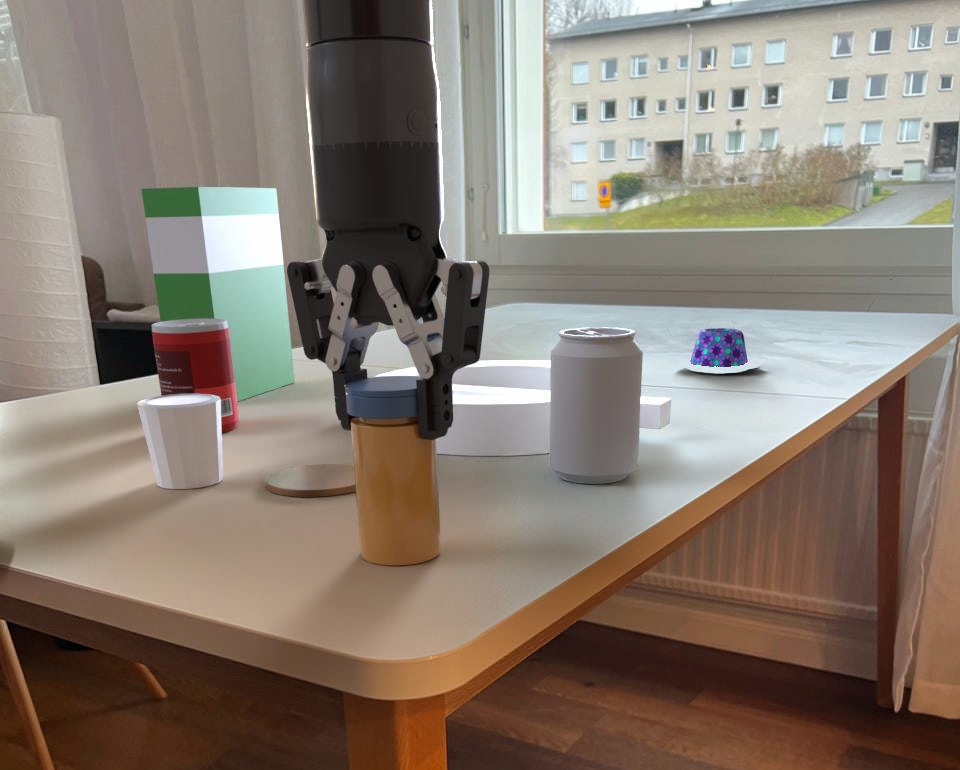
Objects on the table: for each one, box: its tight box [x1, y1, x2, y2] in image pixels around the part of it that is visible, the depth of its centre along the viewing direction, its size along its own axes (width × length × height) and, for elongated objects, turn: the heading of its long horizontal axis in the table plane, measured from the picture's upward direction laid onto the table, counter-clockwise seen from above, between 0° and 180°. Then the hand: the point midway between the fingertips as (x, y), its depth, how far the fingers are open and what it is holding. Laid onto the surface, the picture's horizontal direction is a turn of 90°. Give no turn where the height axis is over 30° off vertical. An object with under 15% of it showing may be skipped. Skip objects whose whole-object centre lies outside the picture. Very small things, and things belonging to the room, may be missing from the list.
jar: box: [350, 416, 442, 567], centre depth 65 cm, size 5×5×10 cm
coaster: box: [265, 463, 356, 498], centre depth 84 cm, size 9×9×1 cm
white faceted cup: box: [136, 393, 224, 490], centre depth 85 cm, size 7×7×7 cm
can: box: [549, 327, 644, 485], centre depth 83 cm, size 8×8×12 cm
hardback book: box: [141, 186, 296, 403], centre depth 123 cm, size 18×7×24 cm, turn 162°
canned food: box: [151, 319, 240, 434], centre depth 105 cm, size 8×8×11 cm
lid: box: [345, 376, 422, 419], centre depth 63 cm, size 6×6×2 cm
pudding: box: [690, 327, 749, 367], centre depth 136 cm, size 12×12×5 cm
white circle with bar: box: [373, 359, 672, 457], centre depth 104 cm, size 28×28×5 cm
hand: (393, 431), depth 64 cm, fingers closed on lid, 5 cm apart
